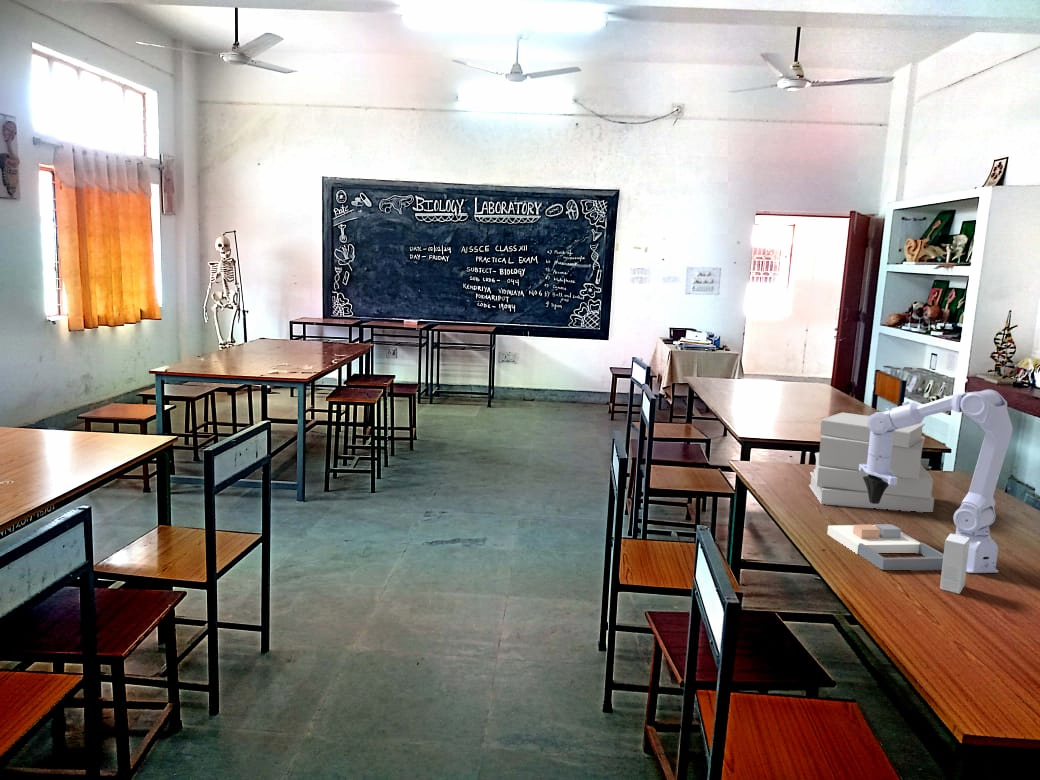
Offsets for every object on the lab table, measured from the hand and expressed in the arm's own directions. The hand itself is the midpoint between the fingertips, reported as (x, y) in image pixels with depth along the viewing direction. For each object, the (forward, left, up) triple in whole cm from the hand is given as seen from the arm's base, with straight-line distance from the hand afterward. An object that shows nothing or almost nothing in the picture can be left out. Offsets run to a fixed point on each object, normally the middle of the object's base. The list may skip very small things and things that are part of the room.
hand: (874, 503), depth 206 cm
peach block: (-7, +6, -7) cm, 12 cm away
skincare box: (-35, +1, -10) cm, 36 cm away
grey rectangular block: (-7, 0, -7) cm, 10 cm away
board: (-6, +3, -9) cm, 12 cm away
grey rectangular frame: (-19, +3, -9) cm, 21 cm away
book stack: (+33, -19, -10) cm, 40 cm away
